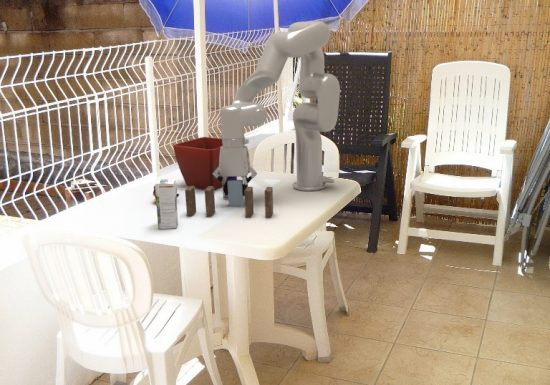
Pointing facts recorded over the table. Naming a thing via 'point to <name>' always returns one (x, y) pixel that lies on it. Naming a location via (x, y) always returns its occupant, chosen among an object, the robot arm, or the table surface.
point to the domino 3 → (235, 193)
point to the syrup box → (166, 203)
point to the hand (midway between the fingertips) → (235, 194)
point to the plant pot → (199, 161)
